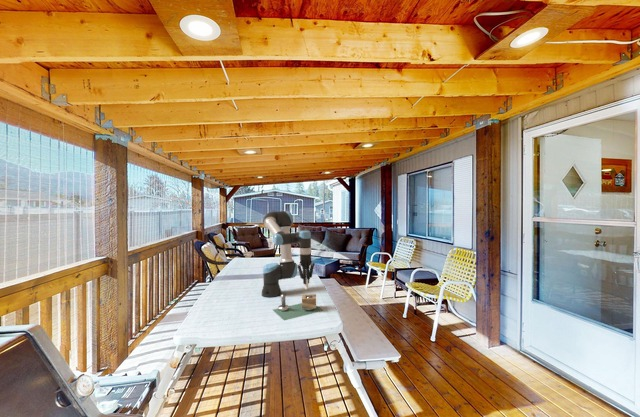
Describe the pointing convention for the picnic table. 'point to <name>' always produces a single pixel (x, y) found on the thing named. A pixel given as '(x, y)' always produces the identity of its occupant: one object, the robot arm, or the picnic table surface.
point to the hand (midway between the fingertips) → (306, 288)
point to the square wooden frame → (309, 301)
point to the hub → (309, 308)
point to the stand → (283, 304)
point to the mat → (295, 312)
